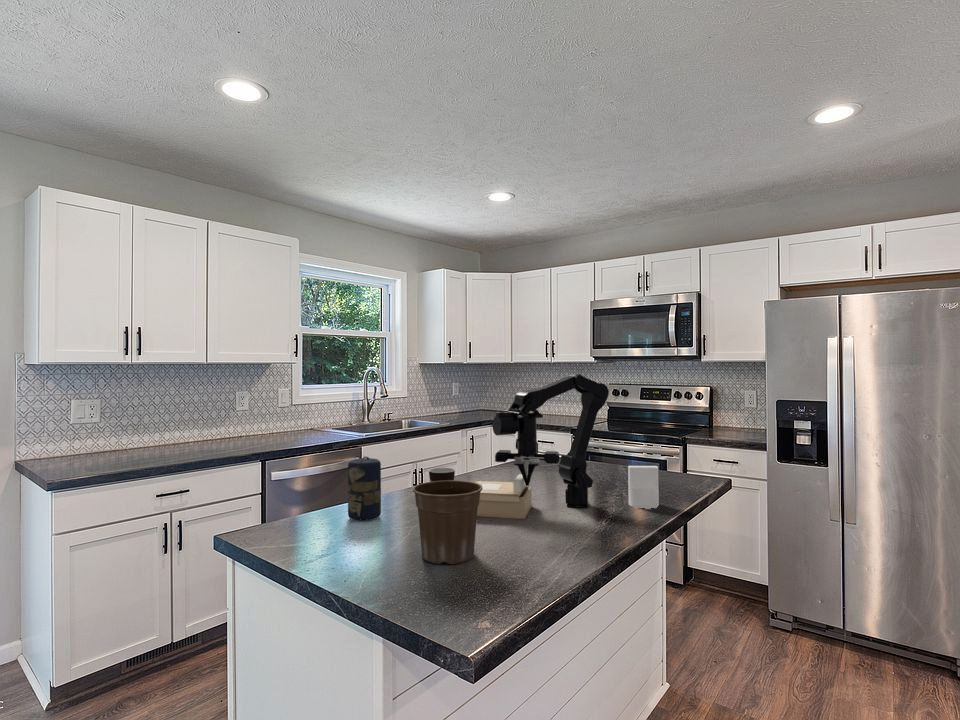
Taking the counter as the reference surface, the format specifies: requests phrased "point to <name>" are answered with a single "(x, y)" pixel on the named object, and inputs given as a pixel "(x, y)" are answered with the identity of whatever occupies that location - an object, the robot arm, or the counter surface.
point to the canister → (364, 489)
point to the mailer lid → (502, 490)
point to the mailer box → (507, 507)
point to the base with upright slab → (643, 486)
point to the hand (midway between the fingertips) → (527, 485)
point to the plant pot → (447, 519)
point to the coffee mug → (441, 474)
